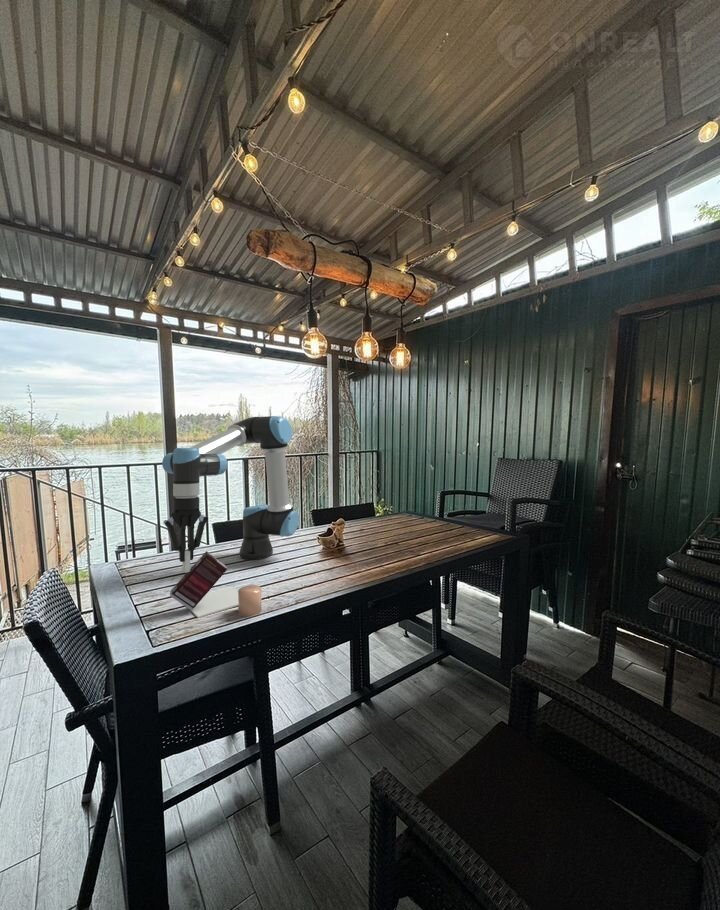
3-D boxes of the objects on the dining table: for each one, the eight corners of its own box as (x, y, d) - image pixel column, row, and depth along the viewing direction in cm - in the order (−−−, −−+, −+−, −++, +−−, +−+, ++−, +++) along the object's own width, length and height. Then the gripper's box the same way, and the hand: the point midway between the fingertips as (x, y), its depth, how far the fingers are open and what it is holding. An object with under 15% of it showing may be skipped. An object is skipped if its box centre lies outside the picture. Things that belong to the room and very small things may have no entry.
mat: (231, 587, 135) (231, 586, 135) (250, 601, 123) (250, 600, 123) (181, 600, 124) (181, 599, 124) (197, 618, 112) (197, 616, 112)
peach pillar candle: (255, 604, 122) (255, 583, 121) (265, 611, 117) (265, 590, 116) (234, 610, 117) (234, 589, 117) (244, 618, 112) (244, 596, 112)
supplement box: (191, 605, 119) (226, 565, 124) (191, 611, 115) (228, 569, 120) (169, 590, 117) (206, 550, 121) (168, 595, 112) (207, 553, 117)
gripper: (203, 493, 123) (203, 564, 123) (160, 497, 114) (160, 572, 115) (211, 496, 117) (211, 569, 118) (167, 499, 109) (167, 578, 109)
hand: (186, 570), depth 116 cm, fingers closed
